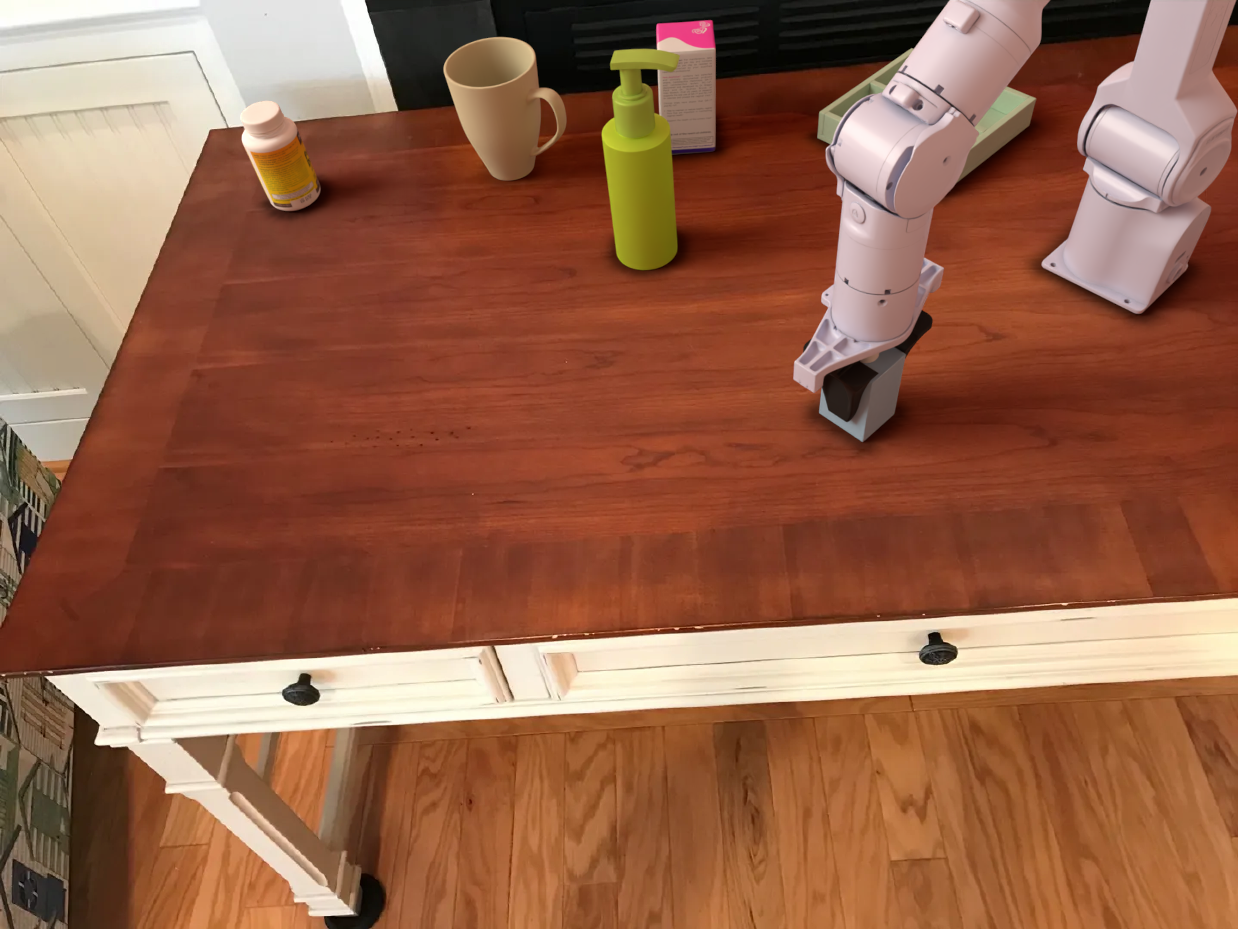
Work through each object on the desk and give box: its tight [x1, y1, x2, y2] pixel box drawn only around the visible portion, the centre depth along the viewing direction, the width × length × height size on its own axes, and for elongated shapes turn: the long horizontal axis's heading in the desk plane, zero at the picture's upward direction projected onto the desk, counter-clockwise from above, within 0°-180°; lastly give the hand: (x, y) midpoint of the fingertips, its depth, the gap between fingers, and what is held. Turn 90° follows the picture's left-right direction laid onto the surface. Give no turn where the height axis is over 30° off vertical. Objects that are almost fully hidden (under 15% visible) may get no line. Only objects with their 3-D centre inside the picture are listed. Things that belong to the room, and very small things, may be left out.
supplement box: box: [655, 19, 717, 156], centre depth 100 cm, size 6×6×12 cm
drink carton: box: [818, 347, 907, 443], centre depth 76 cm, size 4×4×8 cm
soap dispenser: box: [601, 48, 680, 271], centre depth 86 cm, size 6×7×20 cm
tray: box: [816, 47, 1037, 184], centre depth 100 cm, size 15×15×3 cm
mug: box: [443, 36, 567, 182], centre depth 99 cm, size 11×10×12 cm
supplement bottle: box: [240, 100, 322, 212], centre depth 101 cm, size 6×6×10 cm
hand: (859, 397), depth 78 cm, fingers closed on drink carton, 4 cm apart
